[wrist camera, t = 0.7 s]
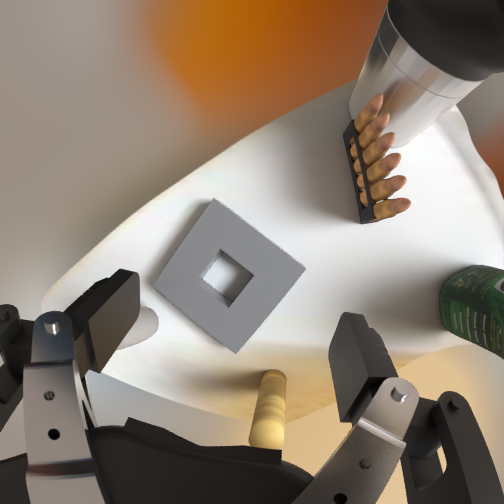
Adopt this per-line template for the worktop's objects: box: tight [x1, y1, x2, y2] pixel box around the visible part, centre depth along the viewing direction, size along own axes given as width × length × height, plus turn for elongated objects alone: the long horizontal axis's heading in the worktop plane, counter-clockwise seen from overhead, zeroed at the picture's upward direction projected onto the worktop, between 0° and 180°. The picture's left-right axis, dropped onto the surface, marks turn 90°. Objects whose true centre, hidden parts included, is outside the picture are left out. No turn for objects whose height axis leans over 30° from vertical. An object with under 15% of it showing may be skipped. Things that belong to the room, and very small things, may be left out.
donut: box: [116, 307, 159, 350], centre depth 29 cm, size 10×4×10 cm, turn 105°
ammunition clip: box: [343, 93, 411, 224], centre depth 24 cm, size 11×2×12 cm, turn 9°
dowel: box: [249, 370, 286, 450], centre depth 26 cm, size 3×3×12 cm
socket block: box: [153, 198, 306, 354], centre depth 31 cm, size 12×12×2 cm
